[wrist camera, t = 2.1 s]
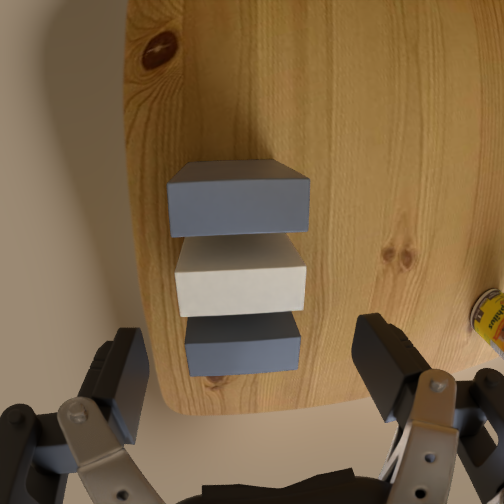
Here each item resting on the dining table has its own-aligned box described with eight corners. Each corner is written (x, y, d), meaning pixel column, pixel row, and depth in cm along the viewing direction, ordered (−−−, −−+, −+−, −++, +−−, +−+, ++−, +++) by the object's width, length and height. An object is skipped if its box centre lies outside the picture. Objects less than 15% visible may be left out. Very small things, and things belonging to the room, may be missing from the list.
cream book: (190, 218, 22) (174, 272, 14) (274, 214, 23) (306, 265, 14) (192, 249, 23) (180, 317, 15) (274, 246, 24) (303, 310, 15)
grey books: (187, 162, 21) (166, 182, 12) (274, 159, 21) (310, 178, 13) (197, 297, 25) (189, 376, 16) (273, 293, 25) (298, 369, 17)
